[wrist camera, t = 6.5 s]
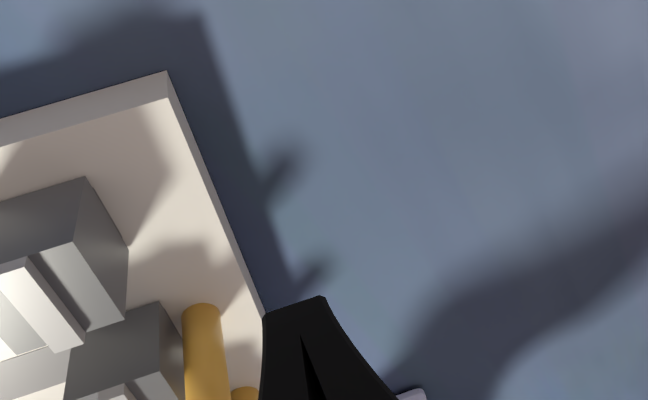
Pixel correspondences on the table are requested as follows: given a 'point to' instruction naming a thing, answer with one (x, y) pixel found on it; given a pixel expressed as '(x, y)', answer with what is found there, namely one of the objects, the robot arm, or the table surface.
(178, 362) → the middle knob
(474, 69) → the table surface
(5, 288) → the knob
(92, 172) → the switch panel
